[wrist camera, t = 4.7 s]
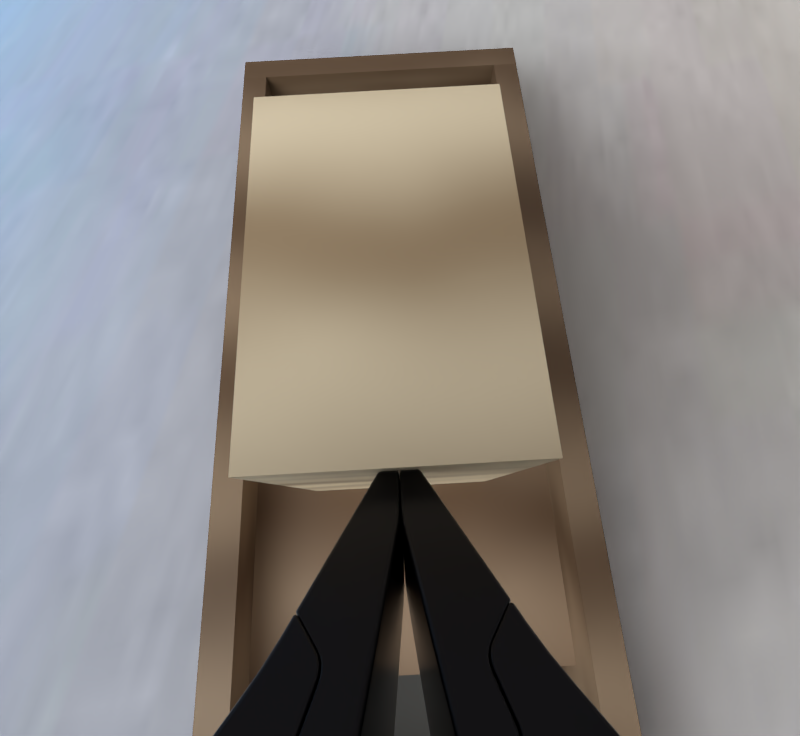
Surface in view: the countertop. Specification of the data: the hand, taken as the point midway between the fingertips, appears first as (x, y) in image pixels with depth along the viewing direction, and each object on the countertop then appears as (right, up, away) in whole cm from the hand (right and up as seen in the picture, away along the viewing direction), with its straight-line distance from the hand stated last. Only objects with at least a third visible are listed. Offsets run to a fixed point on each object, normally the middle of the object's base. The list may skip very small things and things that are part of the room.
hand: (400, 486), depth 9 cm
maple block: (0, +2, +8) cm, 8 cm away
